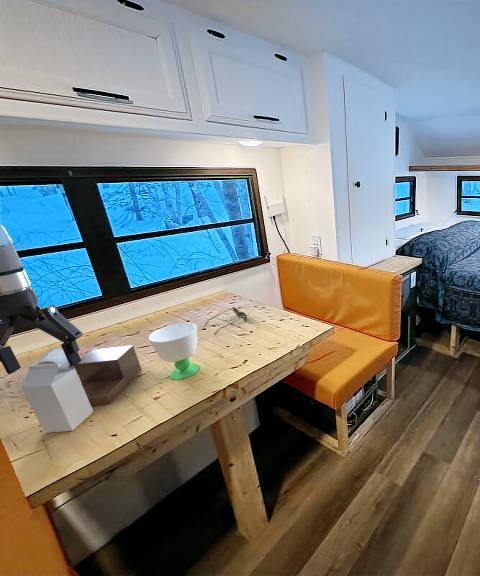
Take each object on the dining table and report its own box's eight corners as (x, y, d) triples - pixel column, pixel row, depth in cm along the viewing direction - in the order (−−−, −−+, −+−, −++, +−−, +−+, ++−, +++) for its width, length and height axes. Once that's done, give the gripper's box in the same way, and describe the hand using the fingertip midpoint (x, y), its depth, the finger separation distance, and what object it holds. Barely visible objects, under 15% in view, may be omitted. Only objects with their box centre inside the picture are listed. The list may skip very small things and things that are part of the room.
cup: (167, 365, 110) (154, 326, 105) (209, 357, 115) (199, 319, 109) (156, 388, 98) (141, 345, 93) (204, 377, 103) (193, 336, 97)
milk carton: (72, 431, 82) (44, 372, 75) (44, 433, 82) (13, 374, 75) (94, 412, 89) (69, 356, 82) (68, 414, 88) (41, 358, 82)
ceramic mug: (37, 382, 103) (28, 362, 100) (52, 369, 110) (43, 350, 107) (77, 375, 106) (69, 356, 104) (88, 362, 113) (81, 344, 111)
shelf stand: (63, 410, 90) (49, 382, 86) (103, 374, 106) (93, 349, 103) (109, 404, 92) (98, 376, 88) (141, 369, 108) (133, 345, 105)
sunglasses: (249, 323, 141) (246, 314, 139) (216, 338, 131) (213, 328, 129) (235, 315, 150) (232, 306, 148) (204, 328, 140) (200, 318, 138)
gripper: (81, 281, 77) (109, 353, 85) (-39, 290, 73) (2, 365, 80) (57, 291, 70) (90, 368, 78) (-77, 302, 66) (-28, 383, 73)
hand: (45, 367), depth 79 cm, fingers open, 13 cm apart
